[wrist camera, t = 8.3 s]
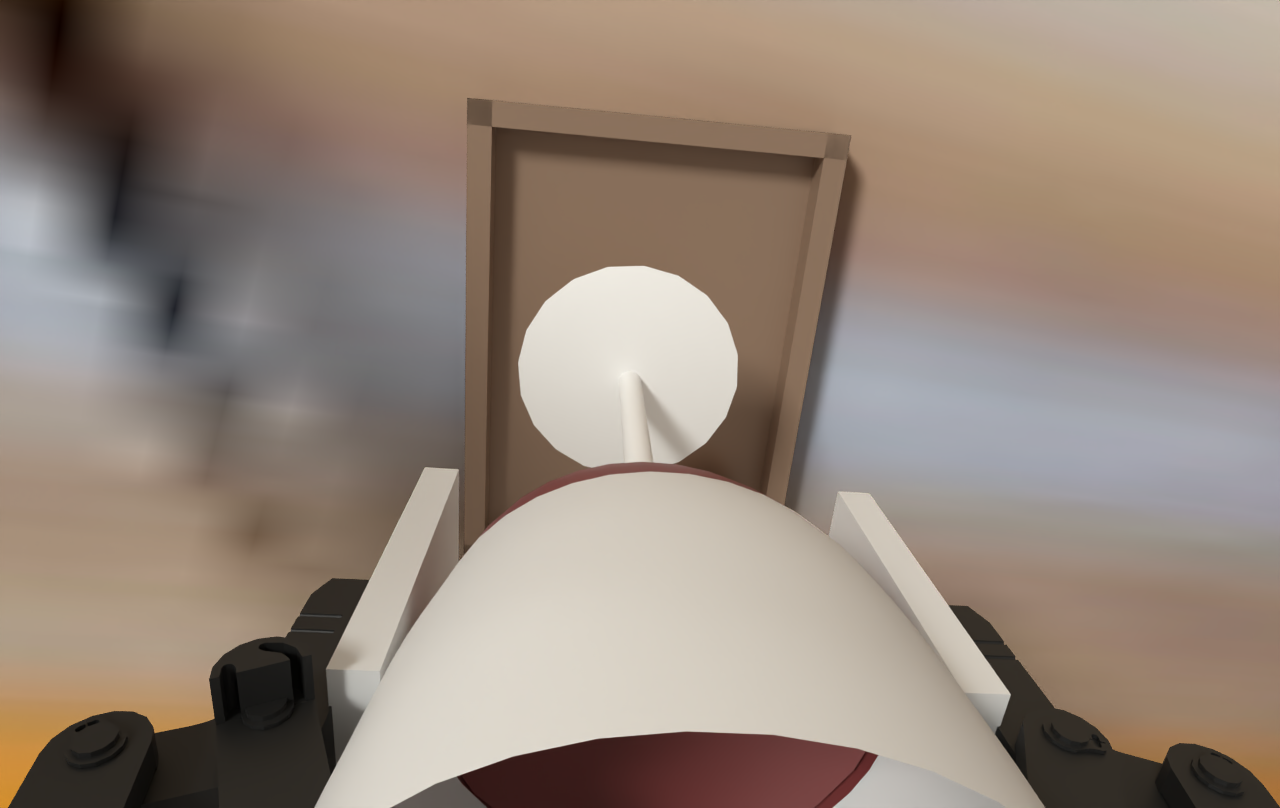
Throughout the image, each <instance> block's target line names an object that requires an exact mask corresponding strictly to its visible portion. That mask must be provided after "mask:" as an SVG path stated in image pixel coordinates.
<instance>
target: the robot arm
mask: <svg viewBox="0 0 1280 808" xmlns="http://www.w3.org/2000/svg"><path fill="white" fill-rule="evenodd" d="M829 537H830V538H831V539H833V540H834V541H835V542H837V543H838V544H839V545H841V546H842V547H843V548H844V549H845V550H846V551H847V552H848V553H849V554H850V555H851V556H852V557H853V558H854V559H855V560H856V561H857V562H858V563H859V564H860V565H861V566H862V567H863V568H864V569H865V571H866V572H867V573H868V574H869V575H870V576H871V577H872V578H873V579H874V580H875V581H876V582H877V583H878V584H879V585H880V586H881V588H882V589H883V590H884V591H885V592H886V593H887V594H888V596H889V597H890V598H891V599H892V600H893V601H894V602H895V603H896V605H897V606H898V607H899V608H900V609H901V611H902V612H903V613H904V614H905V616H906V617H907V618H908V619H909V620H910V622H911V623H912V624H913V625H914V626H915V628H916V629H917V630H918V632H919V633H920V634H921V635H922V637H923V638H924V639H925V641H926V642H927V643H928V644H929V646H930V647H931V648H932V650H933V651H934V652H935V654H936V655H937V656H938V658H939V659H940V660H941V662H942V663H943V664H944V666H945V667H946V668H947V670H948V671H949V673H950V674H951V675H952V677H953V678H954V679H955V681H956V682H957V683H958V685H959V686H960V688H961V689H962V690H963V692H964V693H965V694H966V696H967V697H968V699H969V700H970V701H971V703H972V704H973V705H974V707H975V708H976V709H977V711H978V712H979V713H980V715H981V716H982V718H983V719H984V720H985V722H986V723H987V724H988V726H989V727H990V728H991V730H992V731H993V733H994V734H995V735H996V737H997V738H998V740H999V741H1000V742H1001V744H1002V745H1003V747H1004V748H1005V749H1006V751H1007V752H1008V754H1009V755H1010V757H1011V758H1012V759H1013V761H1014V762H1015V764H1016V765H1017V766H1018V768H1019V769H1020V771H1021V772H1022V774H1023V775H1024V777H1025V778H1026V780H1027V781H1028V783H1029V784H1030V786H1031V787H1032V789H1033V790H1034V792H1035V793H1036V795H1037V796H1038V798H1039V799H1040V801H1041V802H1042V804H1043V805H1044V807H1045V808H1280V807H1279V805H1278V804H1277V803H1276V801H1275V800H1274V799H1273V797H1272V796H1271V795H1270V793H1269V792H1268V791H1267V789H1266V788H1265V787H1264V785H1263V784H1262V783H1261V782H1260V781H1259V780H1258V779H1257V778H1256V777H1255V776H1254V775H1253V774H1252V773H1251V772H1250V771H1249V770H1247V769H1246V768H1244V767H1243V766H1242V765H1240V764H1239V763H1237V762H1236V761H1235V760H1233V759H1232V758H1230V757H1228V756H1226V755H1224V754H1221V753H1220V752H1218V751H1215V750H1213V749H1210V748H1207V747H1203V746H1200V745H1196V744H1184V743H1179V744H1177V745H1174V746H1172V747H1170V748H1169V750H1168V753H1167V755H1166V757H1165V759H1164V761H1163V764H1161V763H1157V762H1154V761H1150V760H1146V759H1143V758H1139V757H1135V756H1132V755H1128V754H1124V753H1121V752H1118V751H1115V750H1113V749H1112V747H1111V745H1110V743H1109V741H1108V740H1107V739H1106V738H1105V737H1104V736H1103V735H1102V734H1101V732H1100V731H1099V730H1098V729H1097V728H1095V727H1094V726H1092V725H1091V724H1089V723H1088V722H1086V721H1085V720H1083V719H1082V718H1080V717H1078V716H1076V715H1073V714H1071V713H1069V712H1066V711H1064V710H1060V709H1055V708H1054V707H1053V705H1052V704H1051V703H1050V701H1049V700H1048V699H1047V697H1046V696H1045V695H1044V694H1043V692H1042V691H1041V690H1040V688H1039V687H1038V686H1037V684H1036V683H1035V682H1034V680H1033V679H1032V678H1031V676H1030V675H1029V674H1028V672H1027V671H1026V670H1025V669H1024V667H1023V666H1022V665H1021V663H1020V662H1019V661H1018V660H1015V655H1014V654H1013V653H1012V651H1011V650H1010V649H1009V648H1008V646H1007V645H1004V641H1003V640H1002V638H1001V637H1000V636H999V634H998V633H997V632H996V630H995V629H994V628H993V626H992V625H991V624H990V623H989V622H988V621H987V620H985V619H984V618H983V617H981V616H980V615H979V614H977V613H976V612H975V611H973V610H972V609H971V608H969V607H968V606H951V605H947V603H946V602H945V600H944V599H943V597H942V596H941V595H940V593H939V592H938V590H937V589H936V587H935V586H934V585H933V583H932V582H931V580H930V579H929V578H928V576H927V575H926V573H925V572H924V570H923V569H922V568H921V566H920V565H919V563H918V562H917V560H916V559H915V558H914V556H913V555H912V553H911V552H910V551H909V549H908V548H907V546H906V545H905V543H904V542H903V541H902V539H901V538H900V536H899V535H898V533H897V532H896V531H895V529H894V528H893V526H892V525H891V523H890V522H889V521H888V519H887V518H886V516H885V515H884V514H883V512H882V511H881V509H880V508H879V506H878V505H877V504H876V502H875V501H874V499H873V498H872V496H871V495H870V494H869V493H855V492H838V494H837V499H836V504H835V508H834V513H833V518H832V523H831V528H830V532H829ZM458 562H459V469H446V468H428V467H425V468H424V470H423V472H422V474H421V476H420V478H419V480H418V482H417V484H416V487H415V489H414V491H413V493H412V495H411V497H410V499H409V501H408V503H407V505H406V507H405V509H404V511H403V513H402V515H401V517H400V519H399V521H398V523H397V525H396V527H395V529H394V531H393V533H392V535H391V537H390V540H389V542H388V544H387V546H386V548H385V550H384V552H383V554H382V556H381V558H380V560H379V562H378V564H377V566H376V568H375V570H374V572H373V574H372V576H371V578H370V580H357V579H335V578H332V579H331V580H330V581H328V582H327V583H326V584H324V585H323V586H322V587H320V588H319V589H318V590H316V591H315V592H314V593H312V594H311V596H310V597H309V599H308V601H307V602H306V604H305V606H304V608H303V609H302V611H301V613H300V617H298V618H297V619H296V621H295V623H294V624H293V626H292V628H291V632H289V633H288V634H287V636H286V638H284V637H270V638H261V639H256V640H253V641H251V642H248V643H245V644H242V645H239V646H238V647H236V648H234V649H233V650H231V651H229V652H228V653H226V654H224V655H223V656H222V657H221V658H220V660H219V661H218V662H217V663H216V664H215V665H214V666H213V668H212V671H211V675H210V678H209V682H210V689H211V695H212V702H213V709H214V716H215V719H213V720H211V721H208V722H204V723H201V724H197V725H193V726H189V727H184V728H179V729H174V730H169V731H164V732H159V733H154V729H153V726H152V724H151V723H150V721H149V720H148V718H147V717H145V716H143V715H140V714H138V713H135V712H127V711H113V712H109V713H104V714H99V715H95V716H91V717H89V718H87V719H85V720H82V721H80V722H78V723H75V724H73V725H71V726H69V727H68V728H67V729H65V730H64V731H62V732H61V733H59V734H58V735H57V736H55V737H54V738H52V739H51V740H50V742H49V743H48V744H47V745H46V746H45V748H44V749H43V750H42V751H41V752H40V753H39V755H38V757H37V759H36V760H35V762H34V764H33V766H32V767H31V769H30V771H29V772H28V774H27V776H26V778H25V779H24V781H23V783H22V785H21V786H20V788H19V790H18V791H17V793H16V795H15V797H14V798H13V800H12V802H11V804H10V805H9V807H8V808H314V807H315V805H316V804H317V802H318V800H319V798H320V796H321V794H322V792H323V790H324V788H325V786H326V784H327V782H328V780H329V778H330V776H331V775H332V773H333V771H334V769H335V767H336V765H337V763H338V761H339V760H340V758H341V756H342V754H343V752H344V750H345V748H346V746H347V744H348V742H349V740H350V738H351V736H352V734H353V732H354V730H355V728H356V726H357V725H358V723H359V721H360V719H361V717H362V715H363V713H364V711H365V709H366V708H367V706H368V704H369V702H370V700H371V698H372V696H373V694H374V692H375V691H376V689H377V687H378V685H379V683H380V681H381V679H382V678H383V676H384V674H385V672H386V670H387V668H388V666H389V665H390V663H391V661H392V659H393V657H394V656H395V654H396V652H397V651H398V649H399V647H400V646H401V644H402V643H403V641H404V639H405V638H406V636H407V634H408V633H409V631H410V630H411V628H412V627H413V625H414V624H415V622H416V621H417V619H418V618H419V617H420V615H421V614H422V612H423V611H424V609H425V608H426V607H427V605H428V604H429V603H430V601H431V600H432V598H433V597H434V596H435V594H436V593H437V592H438V590H439V589H440V587H441V586H442V585H443V583H444V582H445V581H446V579H447V578H448V576H449V575H450V573H451V572H452V571H453V569H454V568H455V566H456V565H457V563H458Z"/></svg>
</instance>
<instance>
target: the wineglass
mask: <svg viewBox="0 0 1280 808" xmlns="http://www.w3.org/2000/svg"><path fill="white" fill-rule="evenodd" d="M737 366H738V354H737V351H736V347H735V344H734V341H733V338H732V335H731V332H730V328H729V325H728V323H727V321H726V320H725V319H724V317H723V316H722V315H721V313H720V312H719V311H718V309H717V308H716V306H715V305H714V304H713V302H712V301H711V300H710V298H709V297H708V296H707V295H706V294H704V293H703V292H701V291H700V290H698V289H697V288H696V287H694V286H693V285H691V284H690V283H688V282H687V281H685V280H684V279H683V278H681V277H680V276H678V275H674V274H671V273H667V272H664V271H660V270H657V269H654V268H650V267H647V266H620V267H606V268H603V269H600V270H598V271H595V272H592V273H589V274H587V275H584V276H581V277H578V278H575V279H573V280H572V281H571V282H569V283H568V284H567V285H565V286H564V287H563V288H562V289H560V290H559V291H558V292H556V293H555V294H554V295H553V296H551V297H550V298H549V299H548V300H546V301H545V303H544V304H543V306H542V307H541V309H540V310H539V312H538V313H537V315H536V316H535V318H534V319H533V321H532V322H531V324H530V325H529V327H528V328H527V330H526V333H525V337H524V341H523V345H522V349H521V353H520V357H519V361H518V368H519V379H520V391H521V397H522V399H523V401H524V404H525V406H526V408H527V410H528V413H529V415H530V417H531V420H532V422H533V424H534V426H535V427H536V428H537V429H538V430H539V431H540V432H541V434H542V435H543V436H544V437H545V438H546V439H547V440H548V441H549V442H550V444H551V445H552V446H553V447H554V448H555V449H556V450H558V451H559V452H561V453H563V454H565V455H566V456H568V457H570V458H571V459H573V460H575V461H576V462H578V463H580V464H582V465H583V466H587V467H591V468H588V469H583V470H579V471H576V472H573V473H570V474H568V475H565V476H563V477H560V478H557V479H555V480H552V481H549V482H547V483H546V484H544V485H542V486H540V487H539V488H537V489H535V490H534V491H532V492H530V493H528V494H527V495H525V496H523V497H522V498H520V499H519V500H518V501H517V502H516V503H515V504H513V505H512V506H511V507H510V508H509V509H507V510H506V511H505V512H504V513H503V514H501V515H500V516H499V517H498V518H497V519H495V520H494V521H493V522H492V523H491V524H490V525H488V527H487V528H486V529H485V530H484V532H483V533H482V534H481V535H480V536H479V538H478V539H477V540H476V541H475V542H474V544H473V545H472V546H471V547H470V549H469V550H468V551H467V552H466V553H465V555H464V556H463V557H462V558H461V560H460V561H459V562H458V563H457V565H456V566H455V568H454V569H453V571H452V572H451V573H450V575H449V576H448V578H447V579H446V581H445V582H444V583H443V585H442V586H441V587H440V589H439V590H438V592H437V593H436V594H435V596H434V597H433V598H432V600H431V601H430V603H429V604H428V605H427V607H426V608H425V609H424V611H423V612H422V614H421V615H420V617H419V618H418V619H417V621H416V622H415V624H414V625H413V627H412V628H411V630H410V631H409V633H408V634H407V636H406V638H405V639H404V641H403V643H402V644H401V646H400V647H399V649H398V651H397V652H396V654H395V656H394V657H393V659H392V661H391V663H390V665H389V666H388V668H387V670H386V672H385V674H384V676H383V678H382V679H381V681H380V683H379V685H378V687H377V689H376V691H375V692H374V694H373V696H372V698H371V700H370V702H369V704H368V706H367V708H366V709H365V711H364V713H363V715H362V717H361V719H360V721H359V723H358V725H357V726H356V728H355V730H354V732H353V734H352V736H351V738H350V740H349V742H348V744H347V746H346V748H345V750H344V752H343V754H342V756H341V758H340V760H339V761H338V763H337V765H336V767H335V769H334V771H333V773H332V775H331V776H330V778H329V780H328V782H327V784H326V786H325V788H324V790H323V792H322V794H321V796H320V798H319V800H318V802H317V804H316V805H315V807H314V808H1045V807H1044V805H1043V804H1042V802H1041V801H1040V799H1039V798H1038V796H1037V795H1036V793H1035V792H1034V790H1033V789H1032V787H1031V786H1030V784H1029V783H1028V781H1027V780H1026V778H1025V777H1024V775H1023V774H1022V772H1021V771H1020V769H1019V768H1018V766H1017V765H1016V764H1015V762H1014V761H1013V759H1012V758H1011V757H1010V755H1009V754H1008V752H1007V751H1006V749H1005V748H1004V747H1003V745H1002V744H1001V742H1000V741H999V740H998V738H997V737H996V735H995V734H994V733H993V731H992V730H991V728H990V727H989V726H988V724H987V723H986V722H985V720H984V719H983V718H982V716H981V715H980V713H979V712H978V711H977V709H976V708H975V707H974V705H973V704H972V703H971V701H970V700H969V699H968V697H967V696H966V694H965V693H964V692H963V690H962V689H961V688H960V686H959V685H958V683H957V682H956V681H955V679H954V678H953V677H952V675H951V674H950V673H949V671H948V670H947V668H946V667H945V666H944V664H943V663H942V662H941V660H940V659H939V658H938V656H937V655H936V654H935V652H934V651H933V650H932V648H931V647H930V646H929V644H928V643H927V642H926V641H925V639H924V638H923V637H922V635H921V634H920V633H919V632H918V630H917V629H916V628H915V626H914V625H913V624H912V623H911V622H910V620H909V619H908V618H907V617H906V616H905V614H904V613H903V612H902V611H901V609H900V608H899V607H898V606H897V605H896V603H895V602H894V601H893V600H892V599H891V598H890V597H889V596H888V594H887V593H886V592H885V591H884V590H883V589H882V588H881V586H880V585H879V584H878V583H877V582H876V581H875V580H874V579H873V578H872V577H871V576H870V575H869V574H868V573H867V572H866V571H865V569H864V568H863V567H862V566H861V565H860V564H859V563H858V562H857V561H856V560H855V559H854V558H853V557H852V556H851V555H850V554H849V553H848V552H847V551H846V550H845V549H844V548H843V547H842V546H841V545H839V544H838V543H837V542H835V541H834V540H833V539H831V538H830V537H829V536H827V535H826V534H825V533H823V532H822V531H821V530H820V529H818V528H817V527H816V526H814V525H813V524H812V523H810V522H809V521H808V520H806V519H805V518H803V517H802V516H801V515H799V514H798V513H797V512H795V511H793V510H791V509H790V508H788V507H786V506H784V505H783V504H781V503H779V502H777V501H775V500H773V499H772V498H770V497H768V496H766V495H764V494H762V493H760V492H759V491H757V490H755V489H753V488H751V487H749V486H746V485H744V484H741V483H739V482H736V481H733V480H731V479H728V478H725V477H723V476H720V475H717V474H715V473H712V472H709V471H705V470H700V469H696V468H691V467H687V466H682V465H678V464H674V463H677V462H680V461H681V460H683V459H684V458H685V457H687V456H688V455H690V454H691V453H693V452H694V451H695V450H697V449H698V448H700V447H701V446H703V445H704V444H705V443H706V442H707V441H708V440H709V439H710V437H711V436H712V435H713V433H714V432H715V431H716V430H717V428H718V427H719V426H720V424H721V423H722V422H723V421H724V419H725V418H726V416H727V413H728V410H729V408H730V405H731V402H732V399H733V397H734V394H735V391H736V388H737Z"/></svg>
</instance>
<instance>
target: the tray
mask: <svg viewBox="0 0 1280 808" xmlns="http://www.w3.org/2000/svg"><path fill="white" fill-rule="evenodd" d="M850 140H851V135H842V134H832V133H822V132H812V131H801V130H791V129H781V128H771V127H760V126H750V125H740V124H730V123H719V122H709V121H699V120H688V119H678V118H668V117H658V116H647V115H637V114H627V113H617V112H606V111H596V110H586V109H576V108H565V107H555V106H545V105H534V104H524V103H514V102H504V101H493V100H483V99H472V98H467V214H466V356H465V497H464V555H465V553H466V552H467V551H468V550H469V549H470V547H471V546H472V545H473V544H474V542H475V541H476V540H477V539H478V538H479V536H480V535H481V534H482V533H483V532H484V530H485V529H486V528H487V527H488V525H490V524H491V523H492V522H493V521H494V520H495V519H497V518H498V517H499V516H500V515H501V514H503V513H504V512H505V511H506V510H507V509H509V508H510V507H511V506H512V505H513V504H515V503H516V502H517V501H518V500H519V499H520V498H522V497H523V496H525V495H527V494H528V493H530V492H532V491H534V490H535V489H537V488H539V487H540V486H542V485H544V484H546V483H547V482H549V481H552V480H555V479H557V478H560V477H563V476H565V475H568V474H570V473H573V472H576V471H579V470H583V469H588V468H591V467H587V466H583V465H582V464H580V463H578V462H576V461H575V460H573V459H571V458H570V457H568V456H566V455H565V454H563V453H561V452H559V451H558V450H556V449H555V448H554V447H553V446H552V445H551V444H550V442H549V441H548V440H547V439H546V438H545V437H544V436H543V435H542V434H541V432H540V431H539V430H538V429H537V428H536V427H535V426H534V424H533V422H532V420H531V417H530V415H529V413H528V410H527V408H526V406H525V404H524V401H523V399H522V397H521V391H520V379H519V368H518V361H519V357H520V353H521V349H522V345H523V341H524V337H525V333H526V330H527V328H528V327H529V325H530V324H531V322H532V321H533V319H534V318H535V316H536V315H537V313H538V312H539V310H540V309H541V307H542V306H543V304H544V303H545V301H546V300H548V299H549V298H550V297H551V296H553V295H554V294H555V293H556V292H558V291H559V290H560V289H562V288H563V287H564V286H565V285H567V284H568V283H569V282H571V281H572V280H573V279H575V278H578V277H581V276H584V275H587V274H589V273H592V272H595V271H598V270H600V269H603V268H606V267H620V266H647V267H650V268H654V269H657V270H660V271H664V272H667V273H671V274H674V275H678V276H680V277H681V278H683V279H684V280H685V281H687V282H688V283H690V284H691V285H693V286H694V287H696V288H697V289H698V290H700V291H701V292H703V293H704V294H706V295H707V296H708V297H709V298H710V300H711V301H712V302H713V304H714V305H715V306H716V308H717V309H718V311H719V312H720V313H721V315H722V316H723V317H724V319H725V320H726V321H727V323H728V325H729V328H730V332H731V335H732V338H733V341H734V344H735V347H736V351H737V354H738V366H737V388H736V391H735V394H734V397H733V399H732V402H731V405H730V408H729V410H728V413H727V416H726V418H725V419H724V421H723V422H722V423H721V424H720V426H719V427H718V428H717V430H716V431H715V432H714V433H713V435H712V436H711V437H710V439H709V440H708V441H707V442H706V443H705V444H704V445H703V446H701V447H700V448H698V449H697V450H695V451H694V452H693V453H691V454H690V455H688V456H687V457H685V458H684V459H683V460H681V461H680V462H677V463H674V464H678V465H682V466H687V467H691V468H696V469H700V470H705V471H709V472H712V473H715V474H717V475H720V476H723V477H725V478H728V479H731V480H733V481H736V482H739V483H741V484H744V485H746V486H749V487H751V488H753V489H755V490H757V491H759V492H760V493H762V494H764V495H766V496H768V497H770V498H772V499H773V500H775V501H777V502H779V503H781V504H783V505H784V504H785V498H786V493H787V487H788V482H789V476H790V471H791V465H792V460H793V454H794V449H795V443H796V438H797V432H798V427H799V421H800V416H801V410H802V405H803V399H804V394H805V388H806V383H807V377H808V372H809V366H810V360H811V355H812V349H813V344H814V338H815V333H816V327H817V322H818V316H819V311H820V305H821V300H822V294H823V289H824V283H825V278H826V272H827V267H828V261H829V256H830V250H831V245H832V239H833V234H834V228H835V223H836V217H837V212H838V206H839V201H840V195H841V190H842V184H843V179H844V173H845V168H846V162H847V157H848V151H849V146H850Z"/></svg>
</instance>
